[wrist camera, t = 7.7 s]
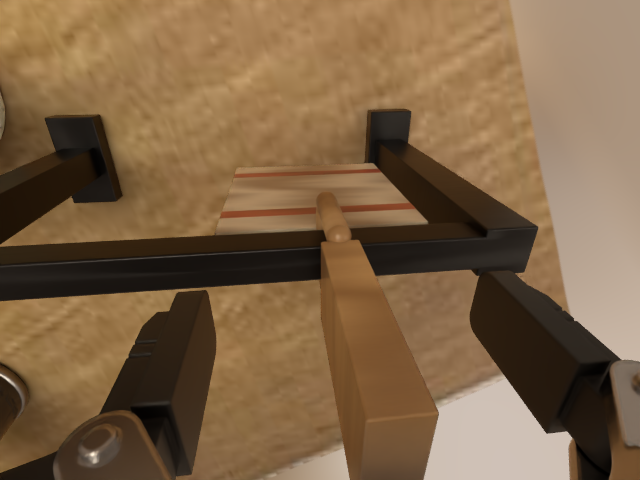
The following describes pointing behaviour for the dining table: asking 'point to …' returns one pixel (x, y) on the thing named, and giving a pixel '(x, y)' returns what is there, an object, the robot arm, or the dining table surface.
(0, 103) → the coffee can
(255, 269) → the rail
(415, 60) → the dining table surface
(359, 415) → the brown flat handled piece
